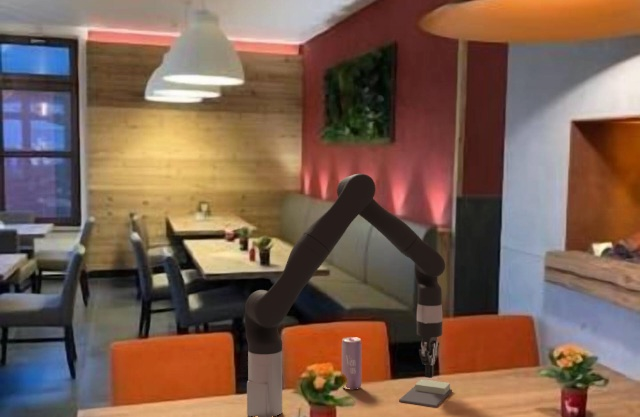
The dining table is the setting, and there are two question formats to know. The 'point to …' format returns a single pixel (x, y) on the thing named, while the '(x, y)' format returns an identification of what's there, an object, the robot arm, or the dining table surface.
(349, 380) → the beverage can
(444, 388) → the board
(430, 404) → the mat
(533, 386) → the dining table surface
